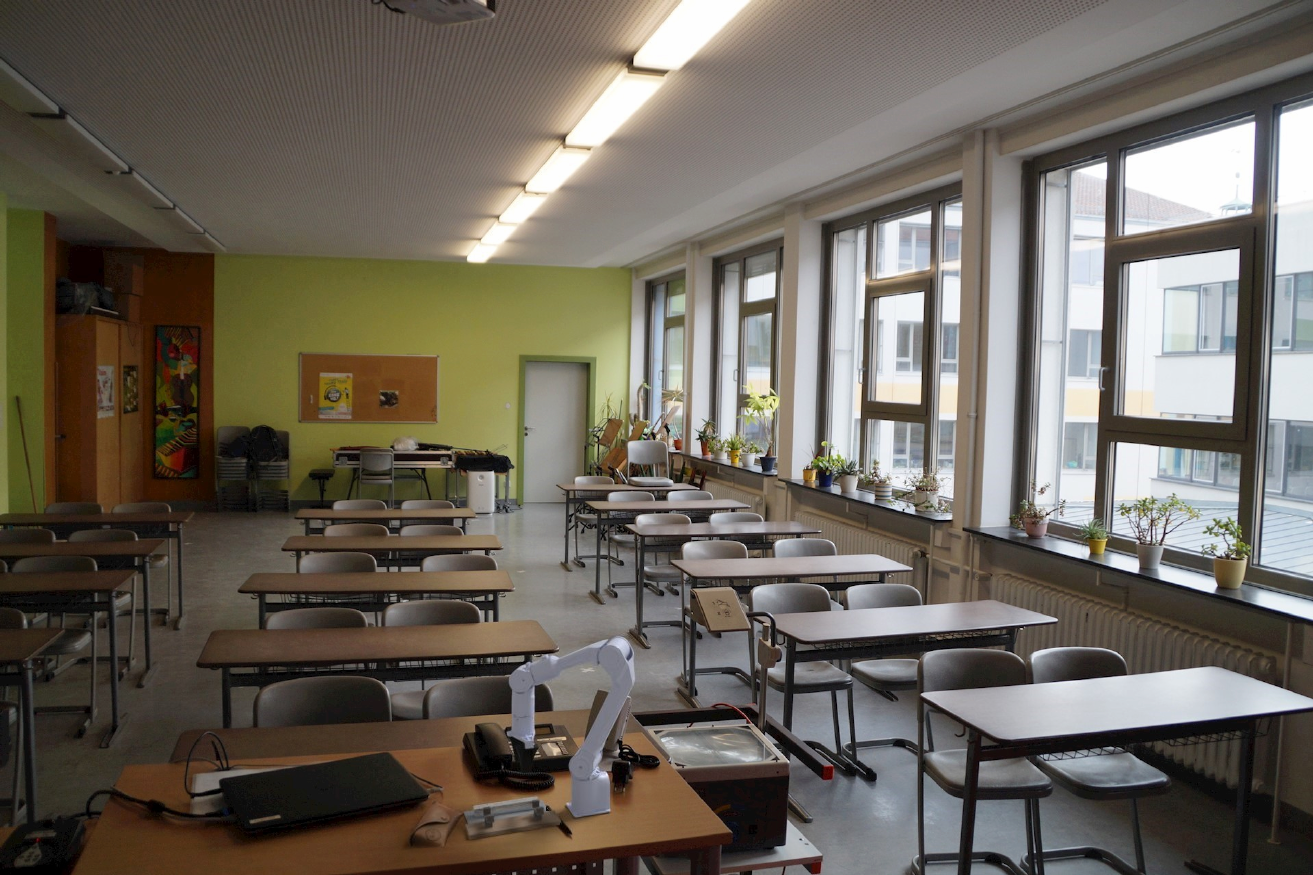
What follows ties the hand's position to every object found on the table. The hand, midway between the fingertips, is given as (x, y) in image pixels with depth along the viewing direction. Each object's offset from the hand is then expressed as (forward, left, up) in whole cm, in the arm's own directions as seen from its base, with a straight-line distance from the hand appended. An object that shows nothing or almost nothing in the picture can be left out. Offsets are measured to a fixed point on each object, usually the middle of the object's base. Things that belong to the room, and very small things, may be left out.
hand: (522, 766), depth 229 cm
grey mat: (+5, +4, -9) cm, 11 cm away
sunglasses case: (+22, +7, -10) cm, 25 cm away
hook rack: (+5, +12, -9) cm, 16 cm away
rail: (+5, +4, -9) cm, 11 cm away
